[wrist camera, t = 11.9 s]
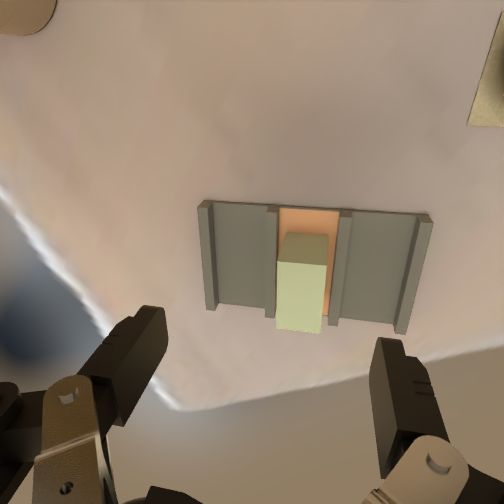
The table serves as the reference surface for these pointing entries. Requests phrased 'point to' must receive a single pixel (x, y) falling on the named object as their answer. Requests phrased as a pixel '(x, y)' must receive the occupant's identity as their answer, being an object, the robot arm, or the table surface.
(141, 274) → the table surface
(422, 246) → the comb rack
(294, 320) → the plug
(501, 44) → the condiment
